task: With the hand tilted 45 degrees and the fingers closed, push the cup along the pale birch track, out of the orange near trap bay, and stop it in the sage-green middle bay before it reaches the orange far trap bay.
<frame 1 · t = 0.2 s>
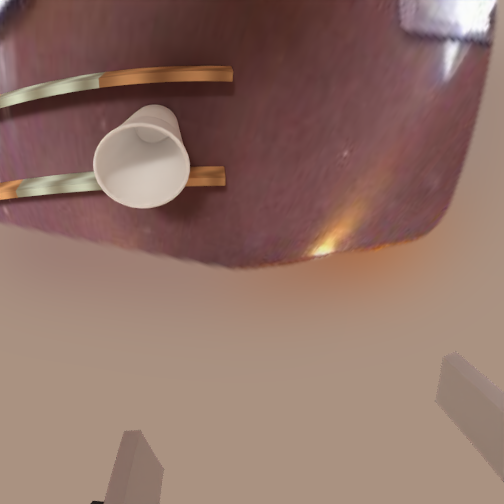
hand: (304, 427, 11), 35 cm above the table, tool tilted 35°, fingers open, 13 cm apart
cup: (154, 124, 37), on the table
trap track: (63, 133, 34), on the table
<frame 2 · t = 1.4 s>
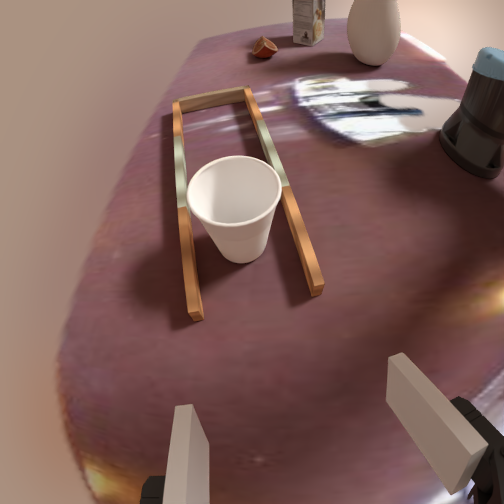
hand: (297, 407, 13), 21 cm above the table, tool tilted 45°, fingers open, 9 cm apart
cup: (242, 244, 42), on the table
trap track: (228, 175, 48), on the table
vase: (369, 62, 69), on the table
coffee box: (308, 41, 77), on the table
fruit slice: (265, 56, 71), on the table
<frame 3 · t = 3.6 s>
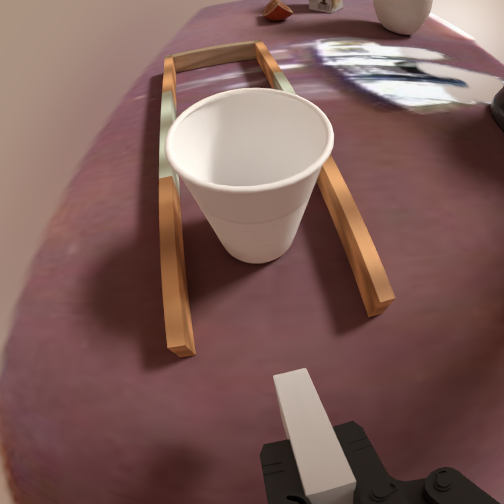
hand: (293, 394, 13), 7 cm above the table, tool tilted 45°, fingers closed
cup: (257, 234, 27), on the table
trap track: (235, 139, 33), on the table
vase: (397, 31, 54), on the table
coffee box: (326, 9, 62), on the table
fruit slice: (278, 20, 56), on the table
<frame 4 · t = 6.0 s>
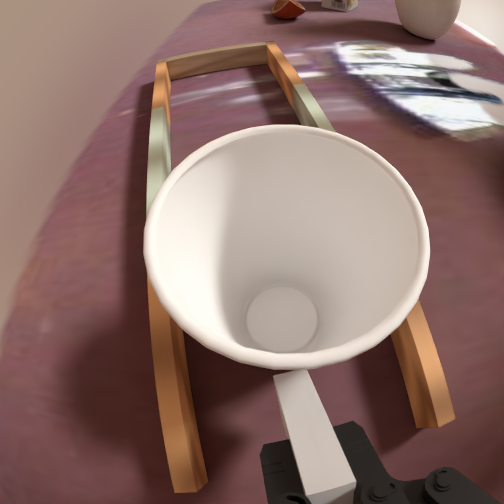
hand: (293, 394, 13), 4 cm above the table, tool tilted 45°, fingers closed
cup: (281, 321, 20), on the table, touching gripper
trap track: (247, 176, 26), on the table
vase: (419, 35, 47), on the table
coffee box: (340, 7, 54), on the table
fruit slice: (288, 18, 49), on the table
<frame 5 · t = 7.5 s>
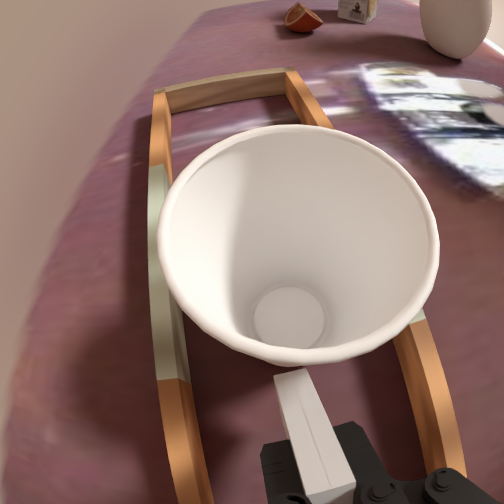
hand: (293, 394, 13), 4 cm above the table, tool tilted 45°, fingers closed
cup: (288, 321, 20), on the table, touching gripper
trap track: (271, 265, 22), on the table
vase: (445, 53, 42), on the table
coffee box: (357, 18, 50), on the table
fruit slice: (303, 31, 44), on the table
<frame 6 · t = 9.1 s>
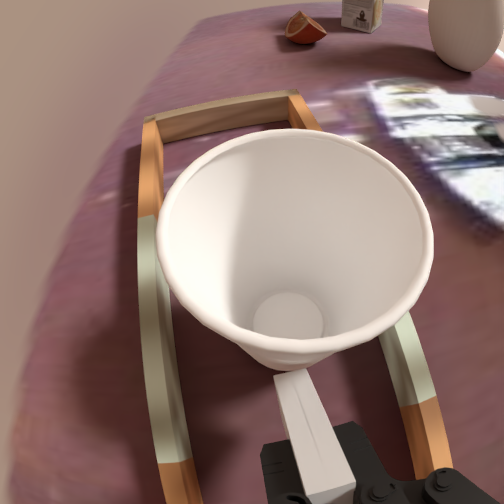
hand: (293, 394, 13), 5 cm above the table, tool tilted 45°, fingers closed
cup: (287, 326, 20), on the table, touching gripper
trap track: (274, 333, 20), on the table
vase: (454, 65, 40), on the table
coffee box: (361, 26, 48), on the table
fruit slice: (305, 42, 43), on the table
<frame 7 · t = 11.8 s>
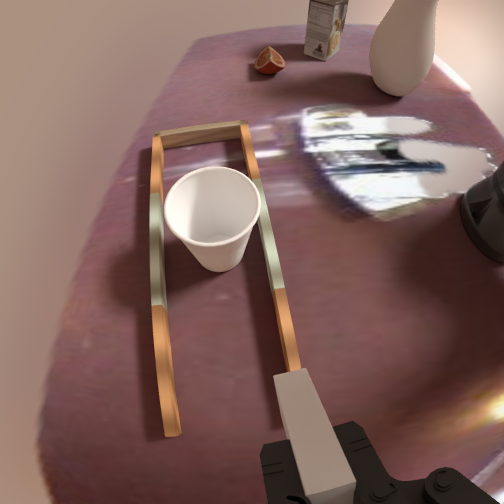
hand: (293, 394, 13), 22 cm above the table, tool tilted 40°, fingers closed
cup: (220, 252, 42), on the table
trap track: (213, 253, 41), on the table
vase: (389, 89, 61), on the table
coffee box: (321, 53, 67), on the table
fruit slice: (269, 71, 62), on the table
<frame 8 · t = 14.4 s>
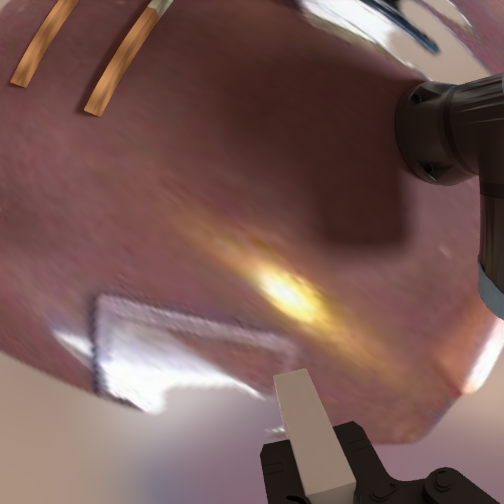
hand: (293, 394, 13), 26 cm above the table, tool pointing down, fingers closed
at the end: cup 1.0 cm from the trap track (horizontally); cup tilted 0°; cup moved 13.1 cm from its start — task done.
